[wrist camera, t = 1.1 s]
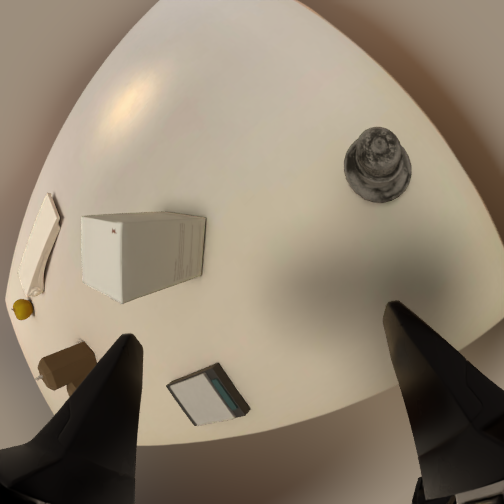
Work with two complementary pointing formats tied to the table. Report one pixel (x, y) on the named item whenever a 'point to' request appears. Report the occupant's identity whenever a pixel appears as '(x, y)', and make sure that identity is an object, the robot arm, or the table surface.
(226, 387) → the kitchen scale
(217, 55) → the table surface
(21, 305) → the apple
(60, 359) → the candle
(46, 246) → the wall bracket
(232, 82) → the table surface
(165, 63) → the table surface
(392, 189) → the pepper mill
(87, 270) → the white packaging box
